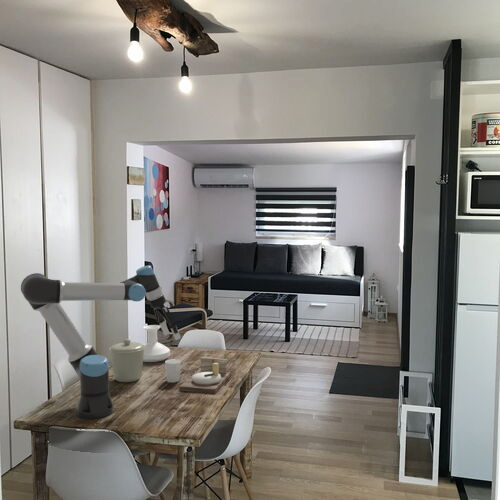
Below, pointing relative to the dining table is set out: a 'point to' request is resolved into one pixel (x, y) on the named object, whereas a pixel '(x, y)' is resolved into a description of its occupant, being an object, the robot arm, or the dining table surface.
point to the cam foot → (208, 376)
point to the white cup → (173, 370)
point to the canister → (127, 360)
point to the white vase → (154, 346)
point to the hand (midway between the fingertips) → (172, 336)
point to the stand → (207, 367)
